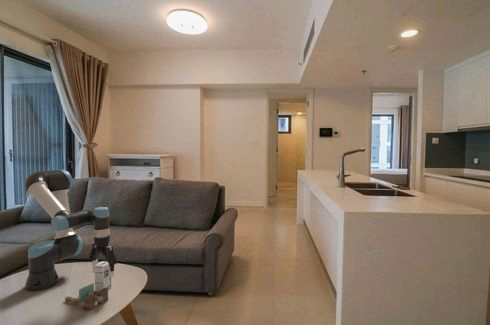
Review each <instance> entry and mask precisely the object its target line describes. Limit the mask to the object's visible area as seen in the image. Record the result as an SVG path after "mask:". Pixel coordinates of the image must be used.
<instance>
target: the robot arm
mask: <svg viewBox="0 0 490 325" xmlns="http://www.w3.org/2000/svg"><path fill="white" fill-rule="evenodd" d="M72 185H73V177H72V175H71V173H70V172H69V171H67V170H65V169H52V170H40V171H39V170H37V171H35V172H32V173H31V174H29V176H27V178H26V179H25V181H24V189H25V191H26V193H27V194H28V195H29V196H31V197H33V198H34V199H35V200H36V201H37V202H38V204H39V205H40V206H41V207H42V208H43V209H44V210H45V212H46V213H47V214H48V216H50V218H51V220H50V224H51V229H53V230H54V231H55V234H56V235H55V236H54V238H53V240H52V239H51V240H50V239H47V240H42V241H38V242H37V243H34V244H33V245H31V246H30V247H29V248H28V250H27V252H28V254H27V260H28V261H27V262H28V263H27V264H28V275H27V279H26V280H25V284H24V287H25V290H26V291H29V292H38V291H42V290H46V289H49V288H51V287H53V286H56V284H58V283H59V280H60V279H59V275H58V273H57V271H56V268H55V263H56V262H60V261H62V260H66V259H69V258H73V257H75V256H77V255H79V254H80V253H81V252H82V249H83V239H82V237H81V236H80V235H77V232H75V231H74V229H73V228H76V227H81V226H85V225H90V224H91V225H93V237H94V238H93V239H94V240H93V243H92V245H91V246H92V247H91V249H90V250H91V251H90V253H89V259H90V260H91V262H92V265H91V266H92V273H94V274H95V272H94V266H95V265H97V264H98V263H99V259H98V257H99V256H100V254H102V255H103V256H104V257H105V259H106V261H107V262H108V263H109V266H108V273H109V278H111V279H112V277H115V265H117V264H118V261H117V257H116V255H115V252H114V249H113V245H109V243H110V242H111V239H110V238H111V235H110V234H111V230H110V211H109V207H107V206H97V207H94V208H93V209H91V208H83V209H82V210H81V211H77V212H71V210H70V203H69V198H68V197H69V196H68V192H69V191H70V188H71V187H72Z"/></svg>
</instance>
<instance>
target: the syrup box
mask: <svg viewBox="0 0 490 325" xmlns="http://www.w3.org/2000/svg"><path fill="white" fill-rule="evenodd" d="M108 266H109V263H108V261H107V260H105V261H100V262H98V264H97V265H95V266H94V291H97V292H98V291H99V290H101V289H103V288H108V290H109V289H110V288H112V277H111V278H109V273H108Z"/></svg>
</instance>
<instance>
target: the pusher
mask: <svg viewBox="0 0 490 325" xmlns="http://www.w3.org/2000/svg"><path fill="white" fill-rule="evenodd" d="M94 291H95V283H94V282H92V283H90V284H88V285H86V286H84V287H81V288H79V289H78V301H81V302H83V303H84V298H85V297H87V296H89V295H91V294H94ZM95 300H97V303H98V302H101V301H102V300H103V297H102V296H100V297H99V296H96V295H95Z"/></svg>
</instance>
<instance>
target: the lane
mask: <svg viewBox="0 0 490 325" xmlns="http://www.w3.org/2000/svg"><path fill="white" fill-rule="evenodd" d="M95 295H96V296H99V297H100V296H102V297H103V300H102V301H101V302H98V301H97V303H98V304H99V305H101V304H103V303H106V302H107V301H109V289H108V288H103V289H101V290H99V291H95V290H94V294H91V295H89V296H87V297H85V298H84V302H81V301H79V299H76V298H75V297H74V298H73V297H71V296H69V295H67V296H65V297H64V301H65V302H66V303H68V304H70V305H73V306H75V307H77V308H79V309H81V310H83V311H85V312H88V311H90V310H92V309H95V308H96V299H95Z"/></svg>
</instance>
